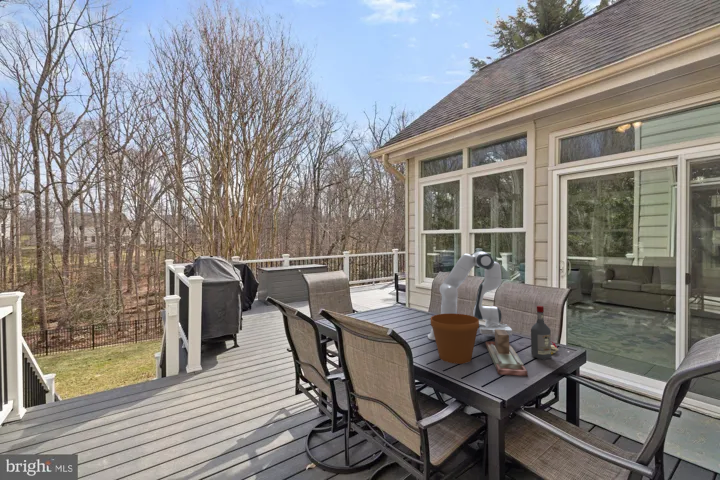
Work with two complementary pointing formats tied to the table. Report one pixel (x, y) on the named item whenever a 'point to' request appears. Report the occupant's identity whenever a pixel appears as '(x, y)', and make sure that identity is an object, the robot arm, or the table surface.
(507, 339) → the walnut block
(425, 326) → the table surface
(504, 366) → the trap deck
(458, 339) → the flowerpot
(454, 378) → the table surface
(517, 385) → the table surface
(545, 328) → the liquor
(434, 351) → the table surface
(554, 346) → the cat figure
